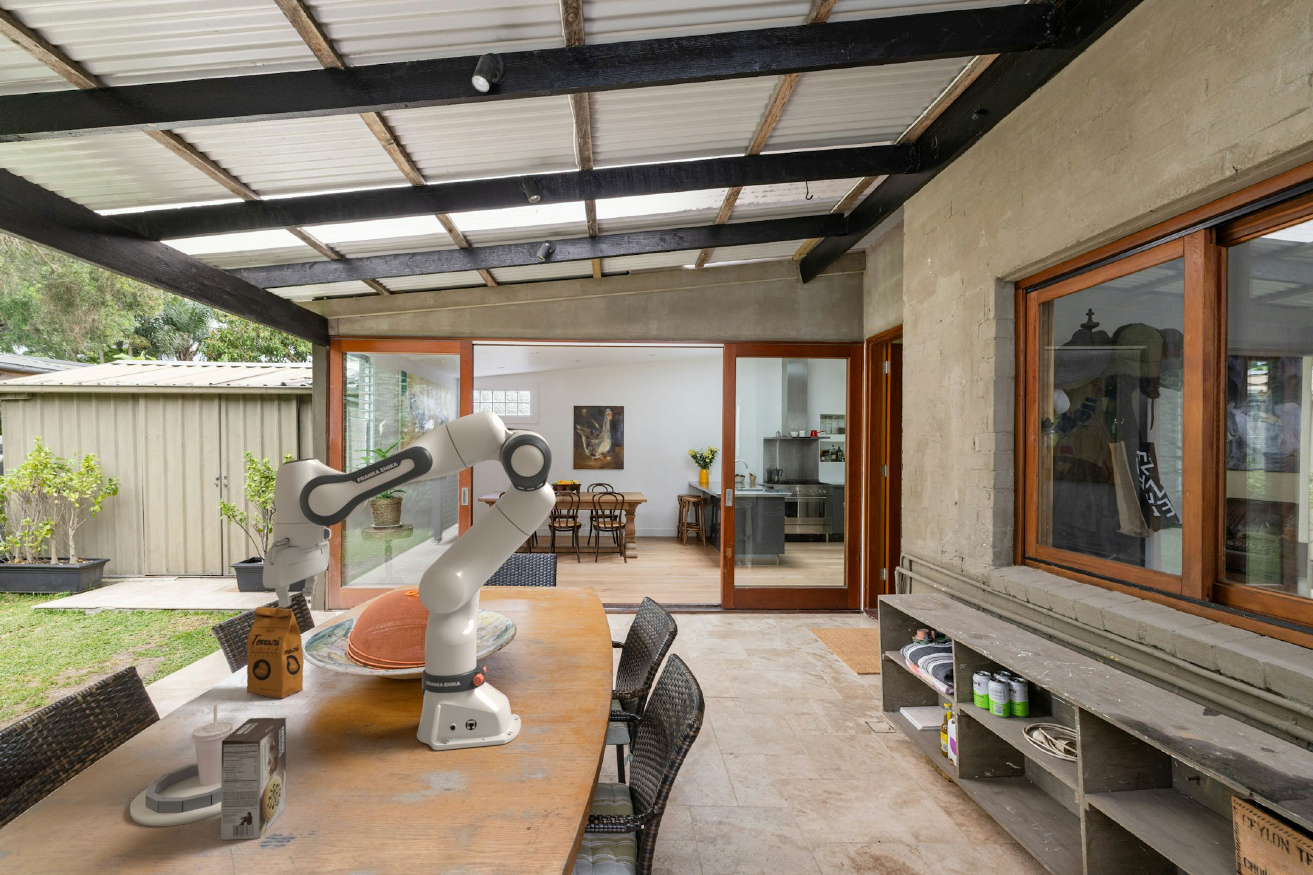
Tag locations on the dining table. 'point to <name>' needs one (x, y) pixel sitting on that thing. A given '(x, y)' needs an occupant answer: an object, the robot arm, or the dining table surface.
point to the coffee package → (274, 654)
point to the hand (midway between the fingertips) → (297, 601)
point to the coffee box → (253, 778)
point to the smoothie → (210, 749)
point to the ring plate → (176, 799)
